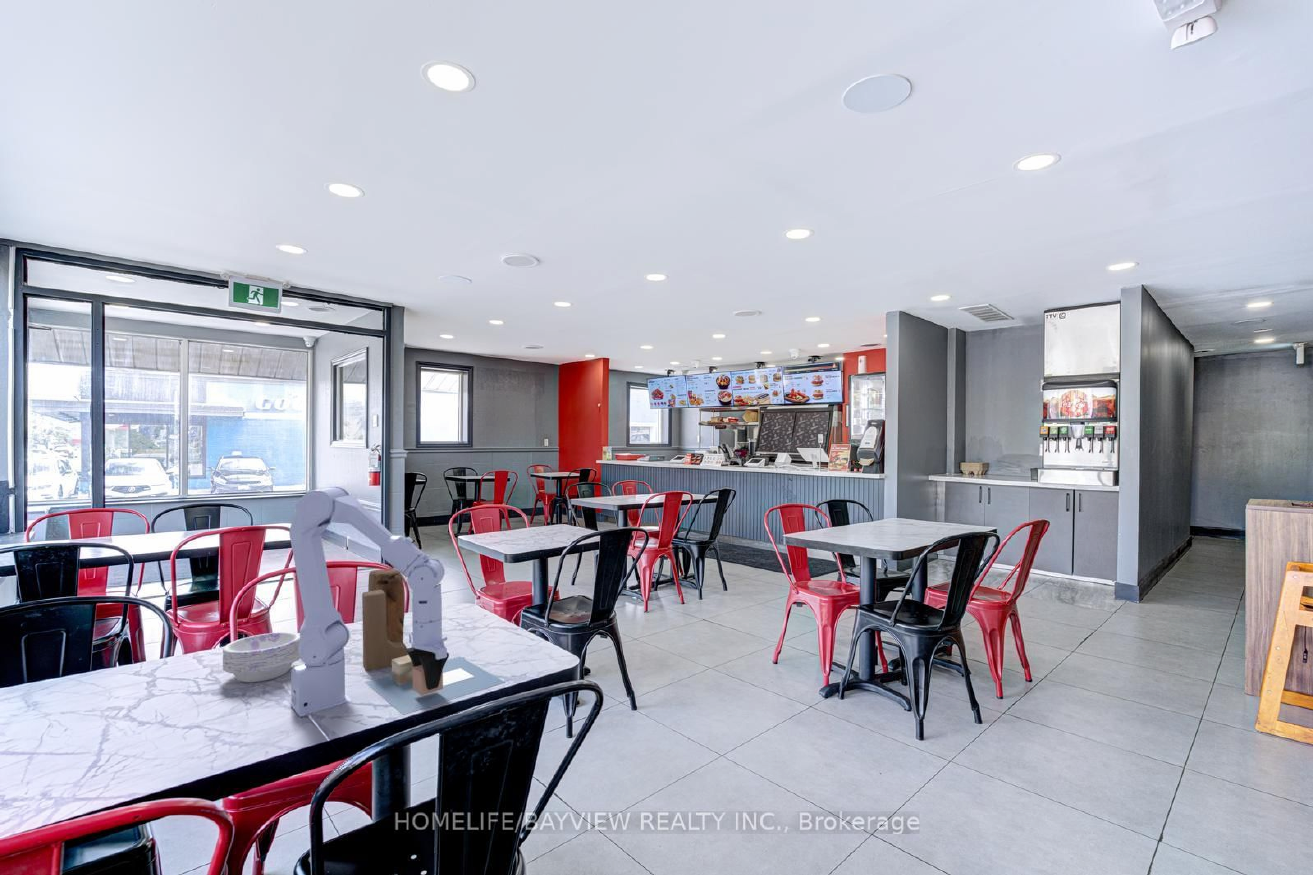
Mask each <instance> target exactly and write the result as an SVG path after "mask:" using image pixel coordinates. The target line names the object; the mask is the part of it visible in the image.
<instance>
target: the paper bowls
mask: <svg viewBox="0 0 1313 875" xmlns="http://www.w3.org/2000/svg"><path fill="white" fill-rule="evenodd" d="M299 643H300V633H296V632H288V631H283V632H282V631H281V632H280V631H278V632H277V631H276V632H269V633H261V634H257V635H252V636H251V635H250V636H247V637H243V638H240V639H236V640H234V641H232V642H230V643H227V644H226V645H224V647H223V648H222V670H223V671H224V672H226V673H229V674H233V676H234V677H235V679H236V680H237V681H238V682H244V683H258V682H265V681H269V680H274V679H276V678H279V677H281V676H282V675H285V674H286V673H288V672H289V671H290V669H291V667H292V664H294V663H295V662H297V661H299V660H301V659H300V657H299V654H298V646H299Z"/></svg>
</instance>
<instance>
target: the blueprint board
mask: <svg viewBox="0 0 1313 875" xmlns="http://www.w3.org/2000/svg"><path fill="white" fill-rule="evenodd" d="M505 683H506V681H504V680H502V679H500V677H499V678H498V677H497V676H495V675H494V674H492V673H490V672H489V671H486V670H485V669H483V668H482V667H480V666H478V665H476V664H474V663H473V662H471V661H469V660H467V659H465V658H464V657H463V656H457V657H454V658H450V659H449V658H448V659H447V661H446V663H445V665H444V667H443V689H442V690H438V691H435V692H432V693H428V694H425V695H422V696H421V695H420V694H419V693H417V692H416V691H415V690H413V682H410V683H407V684H403V685H398V684H397V683H396V682H394V681H393V680H392V674H391V675H387V676H386V675H385V676H384V677H383V676H382V677H380V678H379V677H378V678H375V679H371V680H369V681H368V680H367V681H365V684H366V685H368V686H369V687H370V688H371V689H372V690H374V691H375V693H377V694H378V695H379V696H381V697H382V698H383V699H384V700H386V702H387V703H388V704H390V705H391V706H392V707H393V708H394V709H396V711H398V712H399V713H400V714H401V715H402V716H404V715H407V714H411V713H413V712H417V711H420V710H424V709H426V708H429V707H432V706H435V705H438V704H442V703H445V702H449V701H451V700H455V699H458V698H461V697H465V696H468V695H469V694H470V695H471V694H475V693H476V692H480V691H483V690H485V689H486V690H487V689H489V688H492V687H496V686H498V685H502V684H505Z"/></svg>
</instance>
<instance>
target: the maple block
mask: <svg viewBox="0 0 1313 875" xmlns="http://www.w3.org/2000/svg"><path fill="white" fill-rule="evenodd" d="M412 667H413V664H412V661H411V659H410V657H409V655H408V654H407V656H403V657H399V658H395V659H392V666H391V675H392V680H393V681H394V682H396V683H397V684H398V685H403V684H407V683H410V682H413V670H412Z"/></svg>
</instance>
